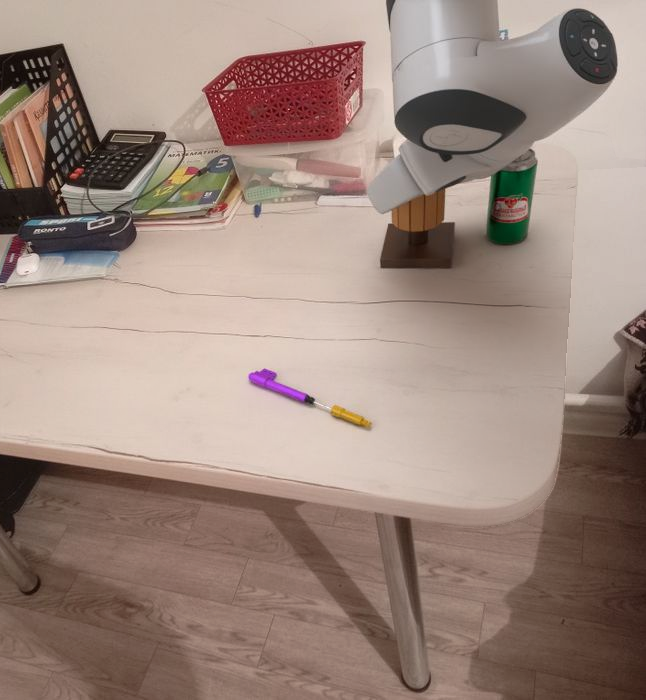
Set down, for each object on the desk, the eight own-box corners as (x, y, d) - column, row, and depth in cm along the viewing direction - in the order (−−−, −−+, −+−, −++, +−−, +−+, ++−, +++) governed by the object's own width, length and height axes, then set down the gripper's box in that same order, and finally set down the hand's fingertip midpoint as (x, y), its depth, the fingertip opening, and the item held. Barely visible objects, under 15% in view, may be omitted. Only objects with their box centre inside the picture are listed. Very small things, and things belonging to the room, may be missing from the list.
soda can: (484, 246, 84) (492, 165, 76) (486, 226, 87) (493, 146, 79) (527, 246, 82) (539, 163, 74) (527, 225, 85) (538, 143, 77)
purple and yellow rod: (246, 381, 75) (367, 432, 66) (246, 373, 75) (368, 423, 65) (259, 371, 77) (379, 419, 67) (259, 363, 76) (380, 410, 67)
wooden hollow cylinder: (426, 236, 80) (427, 187, 76) (382, 224, 85) (380, 178, 80) (454, 211, 83) (456, 163, 78) (409, 201, 87) (409, 155, 83)
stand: (454, 230, 88) (458, 155, 81) (450, 268, 82) (454, 191, 75) (388, 231, 92) (386, 160, 84) (380, 268, 86) (377, 194, 79)
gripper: (535, 76, 70) (463, 136, 84) (391, 147, 66) (340, 198, 80) (564, 123, 70) (487, 176, 83) (421, 197, 66) (365, 240, 79)
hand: (414, 187), depth 81 cm, fingers closed on wooden hollow cylinder, 7 cm apart
